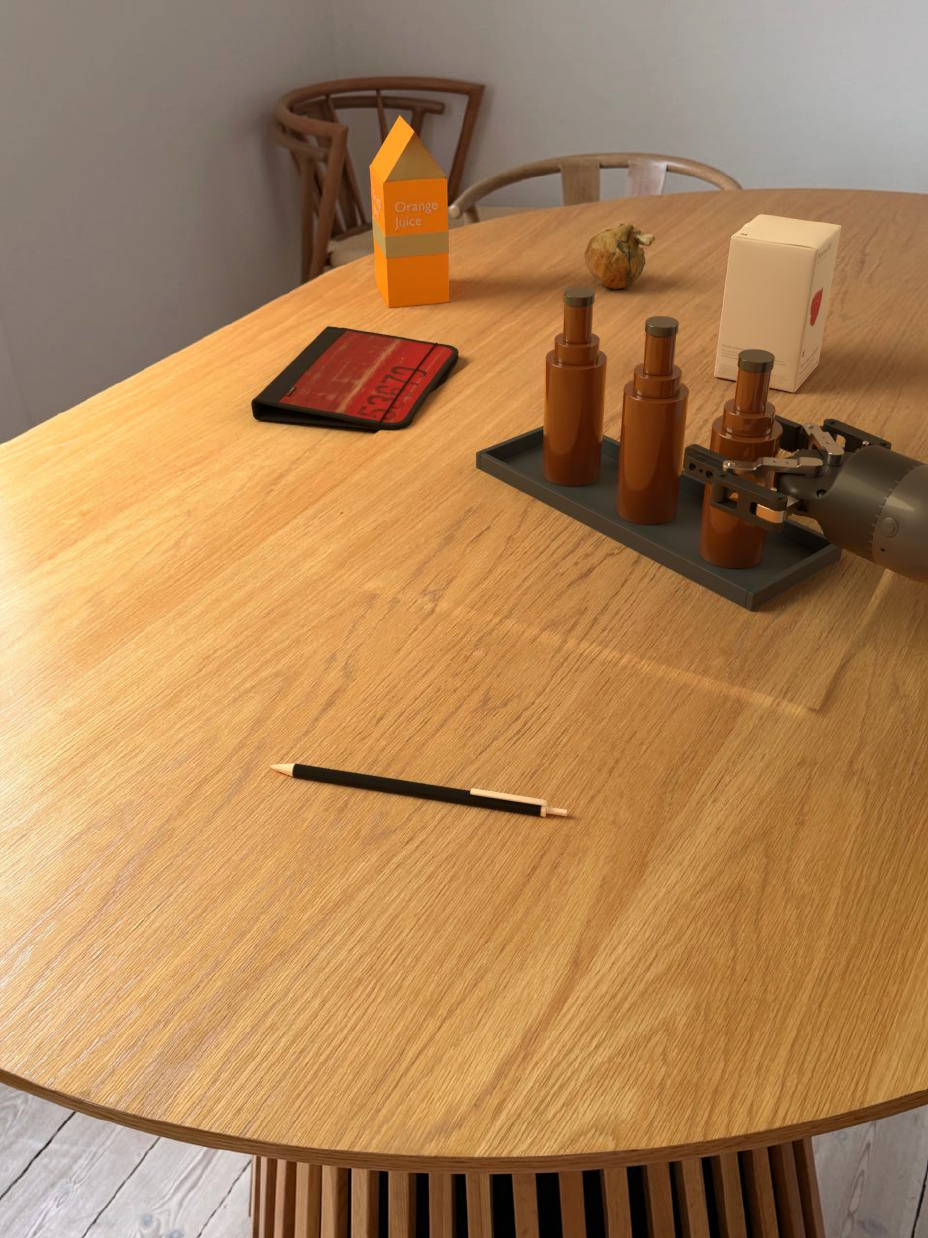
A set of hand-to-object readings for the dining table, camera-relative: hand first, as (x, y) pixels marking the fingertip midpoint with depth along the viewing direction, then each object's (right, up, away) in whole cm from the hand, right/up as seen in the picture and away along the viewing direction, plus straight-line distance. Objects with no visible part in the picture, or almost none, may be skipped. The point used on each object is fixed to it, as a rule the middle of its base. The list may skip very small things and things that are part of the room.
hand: (723, 439), depth 93 cm
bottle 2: (-5, -5, +10) cm, 11 cm away
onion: (-1, +28, +58) cm, 65 cm away
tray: (-5, -5, +10) cm, 12 cm away
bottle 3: (+1, -9, +4) cm, 9 cm away
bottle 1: (-10, -1, +15) cm, 18 cm away
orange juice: (-26, +26, +57) cm, 68 cm away
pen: (-23, -25, -18) cm, 38 cm away
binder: (-30, +10, +33) cm, 46 cm away
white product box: (+12, +12, +35) cm, 39 cm away
